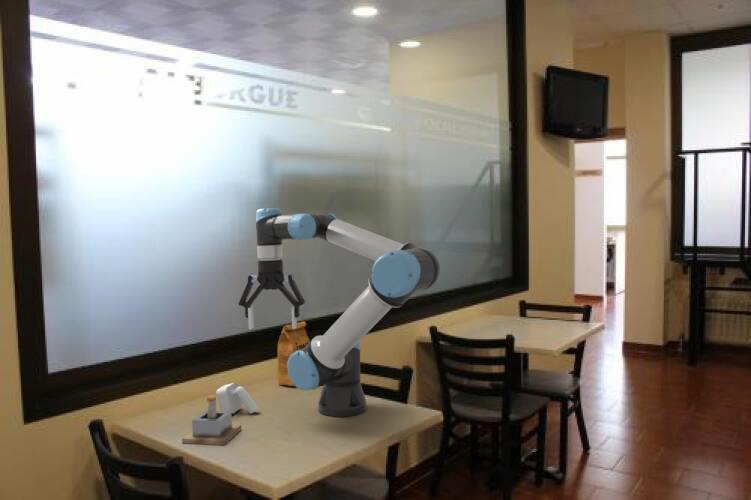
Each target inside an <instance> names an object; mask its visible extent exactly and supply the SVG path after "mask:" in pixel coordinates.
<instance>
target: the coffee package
mask: <svg viewBox="0 0 751 500" xmlns="http://www.w3.org/2000/svg"><path fill="white" fill-rule="evenodd" d="M306 326H307V323H306V321H301V322H297V327H296V328H295V329H292V323H291V324H287V325H284V326H283V328H282V330H281V334H280V335H279V339H278V342H277V359H276V360H277V376H278V378H277V380H278V381H277V383H278V385H279V386H289V387H296V386H295V385H294V384H293V382H292V381H291V379H290V377H289V374H288V367H287V364H288V359H289V357H290V356H291V355H292V354H293V353H295V352H296V351H298V350H302V349H304V348H305V347H306V346H307V345H308V344H309V342H310V341H311V340H310V338H309V336H308V334H307V331H306V329H305V327H306Z"/></svg>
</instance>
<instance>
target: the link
mask: <svg viewBox="0 0 751 500" xmlns="http://www.w3.org/2000/svg"><path fill="white" fill-rule="evenodd" d="M232 415H233V414H232V412H224V411H220V410H216V417H217V419H208V415H207V410H204V411H202V412H201V413H200V414H198V415H197V416H196V417H195V418H193V419H192V422H191V424H192V425H191V427H192V428H191V429H192V430H191V431H193V436H198V437H219V438H220V437H222V436H223V435H224V434H225V433H226V432H227V431H228V430H230V429H231V428H232V425H233V421H232V420H233V419H232Z"/></svg>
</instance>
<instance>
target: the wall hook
mask: <svg viewBox="0 0 751 500" xmlns="http://www.w3.org/2000/svg"><path fill="white" fill-rule="evenodd" d="M215 396H216V400H217V403H218V406H219V411H224V412H232V415H233V414H235V413H236V412H238V410H240V409H242V407H243V406H244V407H245V408H246V410H247V412H248V413H249V414H250V415H252V413H254V412H256V410H258V409H259V407H258V405H257V403H256V402H255V401H254V399H253V398H252V396H251V395H250V394H249V393H248V391H247V390H246V389H245V387H244V386H240V385H238V383H236V382H232V383H226V384H224V385H223V386H221V387H219V388H218V389H216V392H215Z"/></svg>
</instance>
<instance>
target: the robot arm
mask: <svg viewBox="0 0 751 500" xmlns="http://www.w3.org/2000/svg"><path fill="white" fill-rule="evenodd" d="M255 216H256V217H255V228H256V246H257V247H256V250H257V251H256V252H257V254H256V255H257V259H259V260H258V261H257V275H254V274H251V275H250V274H249V275H248V277H247V283H246V286H245V287H244V290H243V292H242V294H241V297H240V299H239V302H238V305H239V306H240V307H244V312H245V314H244V316H245V318H246V319H248V330H252V329H254V328H255V322H254V321H255V317H254V306H252V305H253V303H254V302H255V300H256V299H257V298H258V297H259V296H260V294H261V293H262V292H263V290H265V291H269V290H272V291H276V290H278V291H279V292H281V293H282V295H283V296H284V297H285V298H286V299H287V300H288V301H289V302H290V304H291V305H292V307H291V324H292V329H295V328H296V327H297V323H298V321H297V318H299V317H300V315H301V314H300V306H302V305H304V304H305V303H306V301H305V298H304V296H303V295H302V293H301V290H300V289H299V286H298V285H297V284H296V282H295V275H294V274H293V273H292V274H287V275H284V261H283V259H281V258H283V240H290V241H291V240H295V241H296V240H297V241H301V240H302V241H304V240H309V239H321V240H323V241H326V242H328V243H331V244H333V245H336V246H337V247H340V248H343V249H345V250H348V251H350V252H352V253H355V254H357V255H360V256H363V257H365V258H367V259H370V260H372V261H374V264H373V266H372V269H371V272H372V274H370V275H369V276H368V281H367V282H368V286H367V287H366V288H365V289H364V290H363V291H362V293H361V294H360V295H358V297H357V298H356V299H355V300H354V301H353V302H352V303H351V304H350V306H349V307H347V309H346V310H345V311H344V312H343V313H342V314H341V315H340V316H339V318H338V319H337V320H336V321H335V322H334V323H333V324H331V326H330V327H329V329H328V330H326V331H325V333H324V334H323V335H320V334H319V335H316V336H314V337H313V338H312V339H311V340H310V342H309V344H308V345H307V346H306V347H305V348H304V349H302V350H298V351H296V352H295V353H293V354H292V355H291V356H290V357H289V359H288V364H287V367H288V374H289V377H290V379H291V381H292V382H293V384H294V385H295V386H294V387H296V388H297V389H299V390H302V391H304V392H305V391H306V392H307V391H311V390H316V389H317V388H320V387H321V386H322V389H321V392H320V396H319V399H318V403H317V406H318V407H317V409H318V412H319V413H320V414H322V415H324V416H329V417H338V418H340V417H341V418H344V417H352V416H356V415H360V414H362V413H364V412H365V411H366V410H367V404H368V403H367V399H366V396H365V393H364V390H363V388H362V383H361V346H360V341H361V340H362V339H363V338H364V337H365V336H366V335H367V334H368V333H369V332H370V331H371V330H372V328H374V326H375V325H377V323H379V322H380V321H381V320H382V318H384V316H385V315H386V314H387V313H388V312H389V311H390V310H391V309H392V308H396V309H397V308H398V309H399V308H400V307H402V306H403V305H404V304H405V303H406V302H407V301H408V300H409V299H410V298H411V297H412V296H413V295H414V294H415V293H417V292H422V291H425V290H428V289H430V288H431V287H433V286H434V285H435V284H436V283H437V282H438V280H439V277H440V276H441V270H442V269H441V268H442V267H441V263H440V260H439V258H438V257H437V255H436V254H435V253H434V251H431V250H430V249H428V248H425V247H423V246H419V245H416V244H413V243H411V242H406V243H404V244H403V243H401V242H398V241H395V240H393V239H390V238H388V237H385V236H382V235H379V234H377V233H375V232H372V231H369V230H367V229H365V228H362V227H359V226H357V225H353V224H351V223H348V222H345V221H344V220H341V219H339V218H338V217H337V216H336V215H335V214H333V213H328V212H323V213H322V212H321V213H292V214H291V213H290V214H289V213H288V214H282V211H281V209H280V208H273V207H272V208H258V209H257V210H256V214H255ZM285 280H286V283H288V284H289V286H290V289H291V291H292V292H293V294H294V295H293V294H292V293H291V292H290V291H289V289H288V288H287V287H286V286H285V284H284V281H285ZM256 281H257V282H258V283H259V285H258V286H257V288H256V289H255V290H254V292H253V293H252V295H250V293H251V291H252V288H253V286H254V284H255V283H256ZM249 295H250V297H249ZM248 298H249V299H248ZM247 299H248V300H247Z"/></svg>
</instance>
